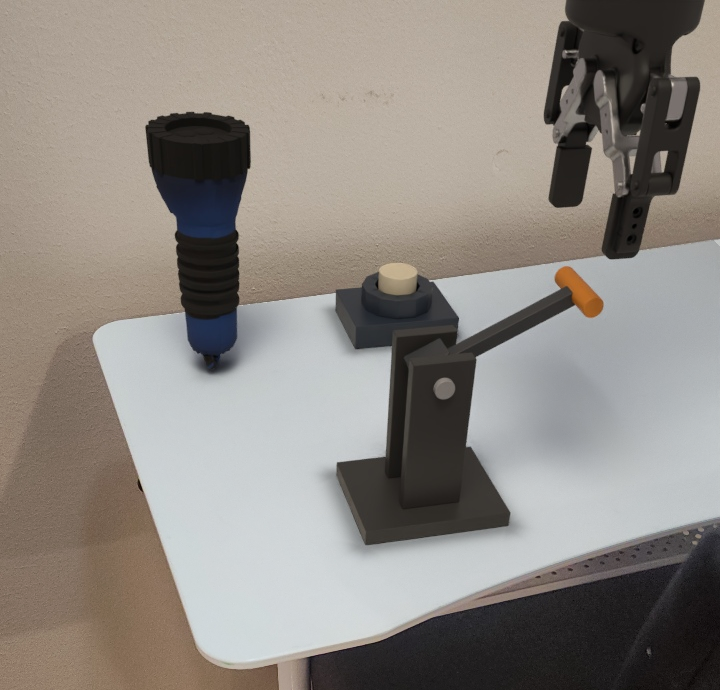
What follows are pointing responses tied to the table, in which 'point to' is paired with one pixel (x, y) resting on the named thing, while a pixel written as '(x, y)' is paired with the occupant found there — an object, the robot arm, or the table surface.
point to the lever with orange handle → (524, 318)
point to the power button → (397, 279)
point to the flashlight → (203, 217)
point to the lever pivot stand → (424, 451)
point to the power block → (390, 311)
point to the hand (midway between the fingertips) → (590, 229)
